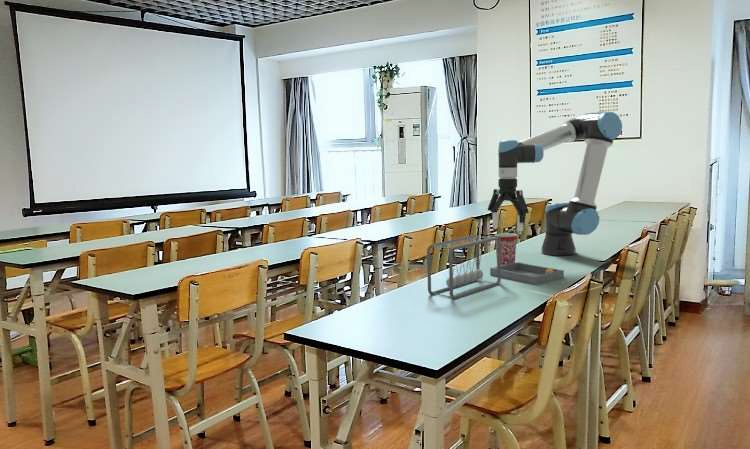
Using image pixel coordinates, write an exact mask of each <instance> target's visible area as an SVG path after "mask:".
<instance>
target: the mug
mask: <svg viewBox="0 0 750 449" xmlns="http://www.w3.org/2000/svg"><path fill="white" fill-rule="evenodd" d="M517 236H518V234H517V233H512V232H502V233H501V232H500V233H495V234H494V237H498V238H499V239H500V241H501V266H502V265H507V264H512V263H516V255H517V254H516V253H517V251H516V250H517ZM494 241H495V255H496V265H497V266H498V243H497V240H494ZM497 266H496V267H497Z"/></svg>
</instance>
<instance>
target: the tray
mask: <svg viewBox="0 0 750 449" xmlns="http://www.w3.org/2000/svg"><path fill="white" fill-rule="evenodd" d="M547 269H552V270H553V271H554V272H551V273H546V274H545V272H546V270H547ZM489 273H490V276H494V277H498V266H492V267H489ZM564 273H565V270H562V269H557V268H552V267H548V266H547V267H546V266H541V265H537V264H536V265H535V264H530V263H524V262H515V263H512V264H507V265H502V266H501V279H502V278H503V279H507V280H512V281H516V282H517V281H518V282H522V283H526V284H530V285H539V284H542V283H543V284H544V283H549V282H551V281H555V280H561V279H564V277H565V276H564V275H565V274H564Z"/></svg>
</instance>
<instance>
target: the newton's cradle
mask: <svg viewBox="0 0 750 449" xmlns="http://www.w3.org/2000/svg"><path fill="white" fill-rule="evenodd" d="M480 238H482V239H480ZM495 240H497V243H498V276H497V281H495V282H493V281H492V282H491V281H488V280H487V281H486V280H481V279H482V278H483V276H484V273H483V271H482V270H481V269H480V265H481V262H480V260H481V259H482V255H480V254H482V251H483V249H481V251H480V245H481V244H482V246H481V247H483V245H484V244H485V243H490V242H494V241H495ZM467 241H469V242H467ZM461 242H465V243H461ZM454 244H457V245H454ZM448 245H452V246H448ZM447 246H448V247H447ZM474 246H475V247H474ZM471 247H472V248H473V250H474V252H473V254H474V255H473V256H474V259H473V261H474V262H473V265H472V267H474V266H475V267H476V268H475V270H474V269H472V268H471V266H469V265H471V264H470V251H471V249H469V250H468V249H466V250H467V253H468V254H467V257H468V258H467V260H468V262H467V263H466V267H468V266H469V271H468V269H466V270H463V273H462V274H461V273H459V272H461V271H462V270H461V268H463V269H465V267H464V264H463V263H464V260H463V257H464V254H463V252H464V249H465V248H471ZM432 248H441V249H442V248H443V249H446V250H448V249H450V250H449V252H446V256H447V257H448V259H447V262H448V272H449V273H448V274H449V275H448V276H449V277H448V278H447V279H446V281H445V282H446V286H447V287H443V288H441V289H437V290H435V291H432V276H431V275H432V270H431V268H432V266H431V250H432ZM458 250H460V251H462V252H460V255H461V264H460V265H462V266H463V267H460V269H459V271H458V269H456V272H457V274H456V275H455V276H454V271H455V268H454V267H456V268H458V265H457V263H456V262H457V260H456V259H457V256H456V255H457V252H458ZM455 251H456V252H455ZM453 253H454V260H453ZM453 261H454V263H453ZM426 262H427V263H426V264H427V267H426V269H427V272H426V273H427V292H428V294H429V295H430V296H435V295H436V296H437V295H438V296H440V297H441V296H442V297H446V298H447V297H448V298H451V299H452V300H457V299H459V298H462V297H466V296H469V295H472V294H474V293H478V292H481V291H483V290H487V289H489V288H492V287H495V285H496V286H498V285H499V284H500V283H501V280H502V277H501V241H500V239H499V238H498V237H495V236H494V237H492V236H480V235H477V234H473V235H468V236H463V237H458V238H453V239H450V240H445V241H441V242H436V243H431V244H429V246H428V247H427V248H426ZM455 265H456V266H455ZM465 271H466V272H465ZM475 282H481V283H488V284H486V285H484V286H481V287H478V288H474V289H471V290H468V291H465V292H461V293H459V294H456V295H454V289H458V288H460V287H462V286H463V287H464V286H466V285H469V284H473V283H475ZM446 291H447V292H448V291H449V295H446V294H441V293H444V292H446Z"/></svg>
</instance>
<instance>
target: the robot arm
mask: <svg viewBox="0 0 750 449" xmlns="http://www.w3.org/2000/svg"><path fill="white" fill-rule="evenodd" d="M622 132H623V123H622V120H621V119H620V116H619V115H618V114H617V113H616V112H613V111H599V112H588V113H584V114H580V115H579V116H576V117H573V118H571V119H568V120H566V121H564V122H562V124H561V125H560V126H557V127H555V128H552V129H549V130H546V131H544V132H541V133H539V134H536V135H532V136H530V137H528V138H525V139H523V140H520V141H517V140H516V139H514V140H513V139H511V140H506V139H505V140H500V141H499V142H498V151H497V152H498V153H497V155H498V177H499V179H498V180H497V181H498V184H497V185H498V188H494V189H493V193H492V195H491V196H492V197H491V199H490V201H489V204H488V206H487V211H490V212H491V220H492V229H496V228H499V212H498V210H499V209H500V207H501V206H502V204H503V203H504V202H505V201H507V202H508V201H509V202H511V203H512V205H513V206H514V207H513V208H515V210H516V211H517V213H518V214H517V216H516V218H517V219H516V220H517V222H516V226H517V227H516V231H517V232H523V231H524V223H525V215H527V214H529V212H530V211H529V208H528V205H527V202H526V201H525V197H524V194H523V193H524V192H523V190H522V189H519V190H517V188H518V179H517V177H518V164H531V163H532V164H535V163H540V162H541V161H542V160H543V158H544V151H545V150H548V149H551V148H553V147H557V146H558V145H559V146H560V145H561V144H564V143H567V142H568V143H573V142H576V141H579V140H580V141H581V140H582V141H583V140H584V143H585V144H586V147H585V152H584V156H583V160H582V164H581V168H580V172H579V176H578V181H577V185H576V188H575V192H574V197H573V198H572V199H570V200H569V201H568V202H561V203H559V202H558V203H548V204H546V206H545V211H544V212H545V213H544V215H545V220H544V221H545V224H544V225H545V234H544V235H545V236H544V238H543V239H544V240H543V242H542V246H541V253H542V254H543V255H547V256H571V255H572V256H573V255H575V254H577V250H576V248H577V247H576V245H575V242H574V239H573V234H575V235H579V236H580V235H581V236H583V235H584V236H588V235H590V234H592V233H593V232H595V231H596V230H597V228H598V226H599V225H600V216H599V213H598V211H597V207H598V206H597V204H596V202H595V201H596V196H597V192H598V187H599V184H600V181H601V176H602V172H603V167H604V165H605V161H606V156H607V152H608V149H609V148H610V147H612V146H613V142H614V139H616V138H618V137H619V136H620V135H621V134H622Z"/></svg>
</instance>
